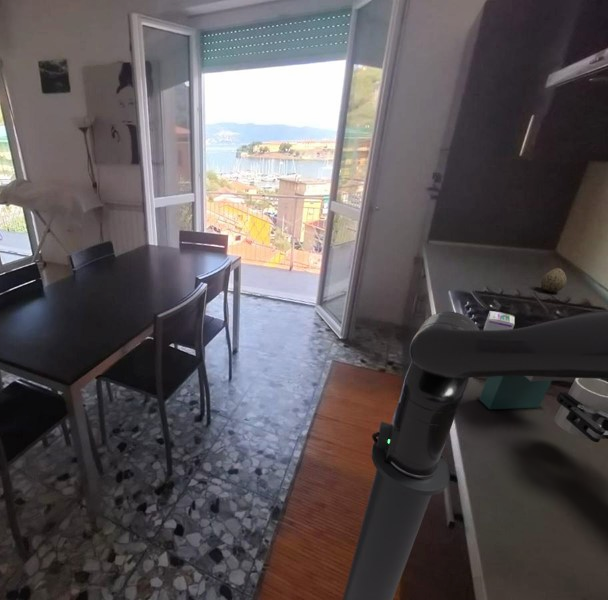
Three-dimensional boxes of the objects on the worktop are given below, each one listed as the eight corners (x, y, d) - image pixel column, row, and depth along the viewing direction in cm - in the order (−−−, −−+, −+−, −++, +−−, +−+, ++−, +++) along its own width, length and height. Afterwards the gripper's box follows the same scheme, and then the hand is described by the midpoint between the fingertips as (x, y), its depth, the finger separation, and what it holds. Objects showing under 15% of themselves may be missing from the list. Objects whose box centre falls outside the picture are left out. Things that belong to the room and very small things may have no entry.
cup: (559, 432, 69) (582, 391, 65) (550, 411, 74) (570, 372, 70) (604, 444, 66) (630, 402, 62) (591, 421, 72) (615, 382, 67)
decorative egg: (566, 294, 140) (576, 270, 136) (551, 296, 139) (562, 272, 134) (546, 287, 146) (556, 264, 142) (532, 289, 145) (542, 266, 141)
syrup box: (498, 369, 98) (516, 324, 92) (472, 362, 101) (488, 317, 95) (498, 360, 102) (516, 315, 96) (473, 353, 105) (489, 309, 99)
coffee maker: (478, 399, 87) (504, 333, 79) (526, 397, 88) (557, 331, 80) (510, 429, 79) (543, 358, 70) (563, 427, 79) (602, 356, 71)
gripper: (742, 448, 53) (622, 378, 68) (649, 451, 53) (549, 380, 68) (712, 482, 57) (604, 408, 72) (624, 485, 56) (534, 410, 71)
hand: (577, 395), depth 70 cm, fingers closed on cup, 6 cm apart
